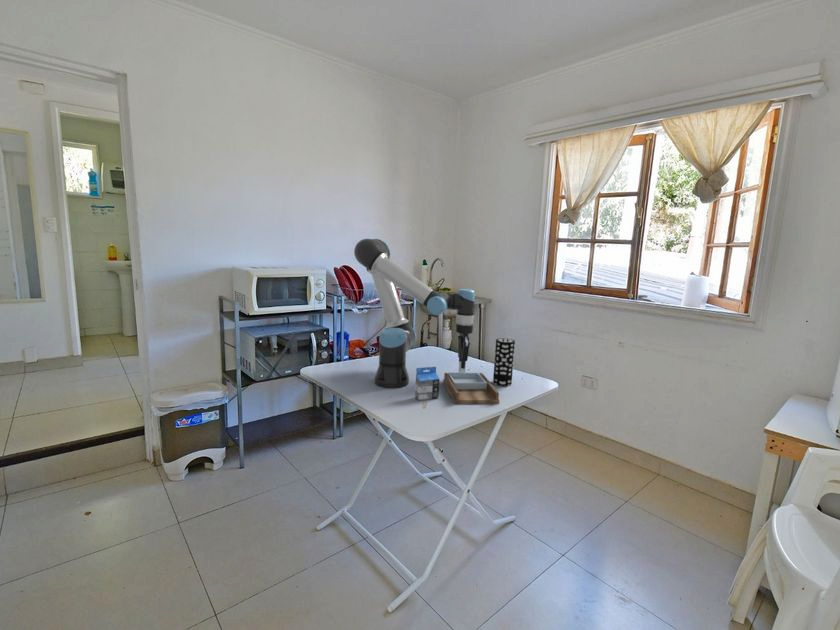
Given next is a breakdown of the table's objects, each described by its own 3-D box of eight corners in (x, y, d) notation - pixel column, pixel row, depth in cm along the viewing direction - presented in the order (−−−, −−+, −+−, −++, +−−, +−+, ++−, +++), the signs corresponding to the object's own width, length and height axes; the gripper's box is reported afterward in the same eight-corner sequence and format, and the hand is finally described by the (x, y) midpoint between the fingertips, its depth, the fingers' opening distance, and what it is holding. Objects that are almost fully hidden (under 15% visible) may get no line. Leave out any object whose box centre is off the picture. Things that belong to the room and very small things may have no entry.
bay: (454, 404, 159) (455, 393, 158) (443, 382, 184) (443, 372, 183) (499, 403, 161) (500, 392, 161) (482, 382, 186) (482, 372, 185)
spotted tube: (502, 387, 180) (505, 343, 176) (489, 381, 187) (492, 339, 183) (515, 384, 184) (519, 341, 181) (502, 379, 191) (505, 337, 188)
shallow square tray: (454, 390, 170) (454, 383, 169) (447, 379, 184) (448, 372, 183) (486, 389, 172) (487, 383, 171) (478, 378, 185) (478, 372, 185)
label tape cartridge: (418, 401, 161) (419, 371, 159) (414, 397, 164) (415, 368, 162) (438, 398, 164) (440, 369, 162) (434, 395, 168) (436, 366, 166)
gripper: (476, 326, 177) (473, 379, 181) (469, 321, 190) (466, 370, 194) (459, 326, 176) (456, 379, 180) (453, 320, 189) (450, 370, 193)
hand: (461, 374), depth 187 cm, fingers closed
